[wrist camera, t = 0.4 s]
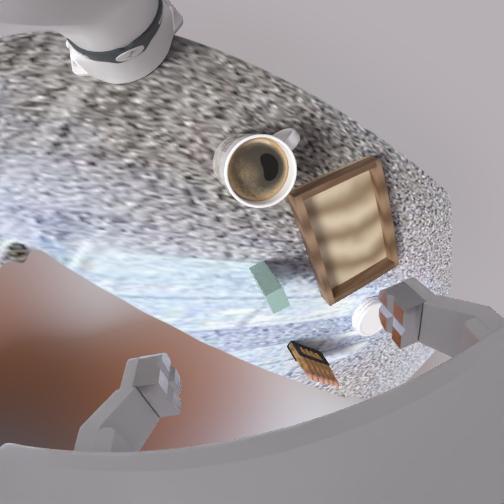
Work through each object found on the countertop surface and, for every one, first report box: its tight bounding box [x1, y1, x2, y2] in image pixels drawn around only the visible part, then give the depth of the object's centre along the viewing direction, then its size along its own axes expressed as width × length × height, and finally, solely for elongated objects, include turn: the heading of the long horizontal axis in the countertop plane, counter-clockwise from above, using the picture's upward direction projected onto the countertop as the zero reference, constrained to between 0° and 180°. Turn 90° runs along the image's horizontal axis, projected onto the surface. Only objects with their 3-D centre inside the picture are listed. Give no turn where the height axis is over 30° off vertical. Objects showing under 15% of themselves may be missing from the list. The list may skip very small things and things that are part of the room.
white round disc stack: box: [352, 297, 383, 336], centre depth 67 cm, size 10×10×4 cm
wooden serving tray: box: [287, 156, 399, 306], centre depth 55 cm, size 24×18×4 cm
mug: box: [213, 128, 300, 208], centre depth 42 cm, size 10×12×11 cm
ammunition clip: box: [287, 341, 339, 387], centre depth 62 cm, size 11×2×12 cm, turn 54°
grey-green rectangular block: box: [249, 261, 290, 313], centre depth 51 cm, size 4×3×10 cm
